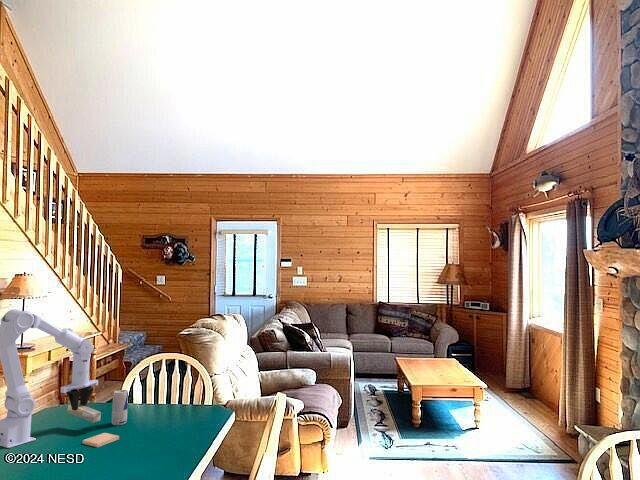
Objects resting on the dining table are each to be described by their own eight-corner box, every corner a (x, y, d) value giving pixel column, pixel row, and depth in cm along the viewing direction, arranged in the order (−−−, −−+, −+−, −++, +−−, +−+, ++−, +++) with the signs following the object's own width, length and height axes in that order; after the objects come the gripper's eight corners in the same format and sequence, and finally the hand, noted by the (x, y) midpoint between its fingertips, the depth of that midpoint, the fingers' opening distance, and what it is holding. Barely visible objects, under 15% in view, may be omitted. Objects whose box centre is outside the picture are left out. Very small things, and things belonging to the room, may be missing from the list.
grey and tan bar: (93, 422, 177) (94, 414, 177) (67, 412, 183) (68, 404, 183) (100, 420, 180) (101, 412, 180) (74, 410, 186) (75, 402, 186)
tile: (82, 445, 166) (97, 448, 163) (82, 440, 166) (97, 443, 163) (104, 437, 174) (118, 440, 171) (104, 432, 174) (119, 436, 171)
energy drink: (129, 421, 191) (130, 390, 192) (122, 425, 185) (124, 393, 186) (116, 420, 191) (117, 389, 192) (108, 425, 186) (110, 392, 187)
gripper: (70, 376, 176) (68, 415, 175) (104, 369, 189) (102, 405, 188) (57, 374, 179) (55, 412, 178) (91, 367, 192) (89, 403, 191)
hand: (78, 408), depth 183 cm, fingers closed on grey and tan bar, 3 cm apart
